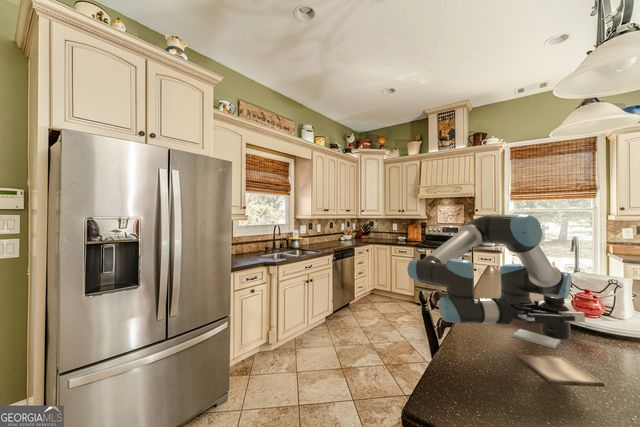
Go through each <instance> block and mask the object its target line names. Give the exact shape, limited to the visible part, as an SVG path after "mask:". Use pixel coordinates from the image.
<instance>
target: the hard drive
mask: <svg viewBox="0 0 640 427" xmlns="http://www.w3.org/2000/svg"><path fill="white" fill-rule="evenodd" d="M512 336H513V338H517V339H520V340H524V341H527V342H531V343H534V344H538V345H540V346H544V347H546V348H547V347H548V348H551V349H554V350H555V349H556V348H557V347H558V346H559V345H560V344H561V342H562V340H560V339H554V338H551V337H548V336H545V335H544V334H541V333H536V332H533V331H529V330H525V329H522V328H519V329H518V330H517V331H515V332H514V333H513V335H512Z"/></svg>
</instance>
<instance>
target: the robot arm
mask: <svg viewBox="0 0 640 427" xmlns="http://www.w3.org/2000/svg"><path fill="white" fill-rule="evenodd" d="M542 238H543V229H542V225H541V222H540V221H539V220H538V219H537V217H535V216H534V215H531V214H521V213H520V214H495V215H494V214H487V215H484V216H483V215H482V216H479V217H477V218H475V219H472V220H470V221H468V222H467V223H465V224H463V225H462V226H461V227H459V229H458V232H457V233H455V234H454V235H453V236H452V237H450V238H449V239H448V240H447V241H445V242H444V243H442V244H441V245H440V246H438V247H437V248H436V249H435V250H433V251H432V252H431V253H429V254H428V255H426V256H425V257H424V258H423V259H418V258H417V259H411V261H409V262H408V265H407V269H406V270H407V273H408V277H409V278H410V280H413V281H418V282H420V283H425V284H429V285H433V286H439V287H445V288H446V296H444V297H440V298H439V301H438V302H439V303H438V311H439V314H440V317H441V319H442V320H443V321H444V322H447V323H453V324H455V323H456V324H481V325H483V326H485V325H486V324H490V325H491V324H493V325H494V324H497V325H509V324H511V323H512V322H513V320H517V321H526V323H527V324H531V325H533V324H539V325H541V324H556V325H565V322H570V323H586V322H585V320H586V319H585V318H586V317H585V314H586V313H585V312H583V311H569V312H560V311H558V313H556V312H547V311H540V305H541V304H542V303H539V300H534V301H532V299H531V294H534V295H535V294H536V295H540V296H543V295H544V294H554V295H560V296H563V297H564V300H565V299H567V298H568V297H569V295H570V292H571V286H572V285H571V284H572V278H571V273H568V272H566V271H561V270H560V269H559V268H558V267H557V266H555V265H553V264H551V262H550V260H549V259H548V257H547V255H546V254H545V252H544V251H543V249H542V248H541V246H540V243H541V241H542ZM482 244H496V245H498V244H499V245H504V246H505V248H506V249H507V250H508V251H509V252H512V253H514V254H515V255H516V256H517V257H518V259H519V261H520V262H521V263H510V264H509V263H508V264H503V265H501V267H500V273H499V275H500V295H499V297H498V298H497V297H496V298H493V297H492V298H491V297H490V298H489V297H475V282H474V281H475V280H474V279H475V274H474V273H475V272H474V264H473V262H472V261H470V260H468V259H464V258H463V259H462V258H461V257H462V256H464V254H466V253H468V251H469V250H471V249H472V248H475V247H478V246H480V245H482Z"/></svg>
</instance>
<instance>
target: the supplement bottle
mask: <svg viewBox="0 0 640 427" xmlns="http://www.w3.org/2000/svg"><path fill="white" fill-rule="evenodd" d="M542 296H543V298H542V299H543V300H542V301H543V302H542V303H540V304H541V305H540V304H539V305H540V310H539V311H547V312H556V313H558V311H560V312H570V309H569V308H568V307H567V306H566V305H565V304H566V301H565V299H564V297H563V296H560V295H554V294H544V295H542ZM540 332H541V333H542V334H541V335H544V336H548V337H551V338H554V339H559V340H561V341H565V340H570V339H571V322H565V325H556V324H540Z"/></svg>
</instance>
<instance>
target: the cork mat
mask: <svg viewBox="0 0 640 427" xmlns="http://www.w3.org/2000/svg"><path fill="white" fill-rule="evenodd" d="M516 358H518V359H519V360H520V361H522V362H523V363H524V364H525V365H526V366H528V367H529V368H530V369H531V370H533V372H535V373H537V374H538V376H540V377H542V378H543V379H544V380H545V381H547V382H548V383H549V384H562V385H563V384H566V385H568V384H569V385H570V384H571V385H572V384H573V385H592V386H604V385H605V383H604V381H602V380H601V379H599V378H597V377H596V376H595V375H593V374H591V373H589V372H588V371H586V370H585V369H583V368H581V367H580V366H578V365H577V364H575V363H573V362H571V361H570V360H568V359H566V357H564V356H560V355H559V356H558V355H557V356H556V355H533V354H532V355H528V354H527V355H526V354H524V355H523V354H516Z"/></svg>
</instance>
